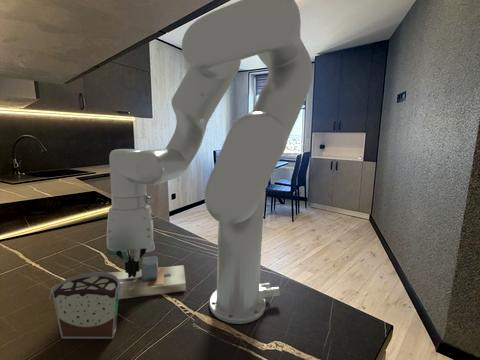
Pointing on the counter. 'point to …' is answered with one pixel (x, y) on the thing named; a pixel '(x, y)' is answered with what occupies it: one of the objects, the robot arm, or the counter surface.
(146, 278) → the fader tab
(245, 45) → the robot arm
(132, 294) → the fader console
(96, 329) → the food container
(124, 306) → the counter surface
